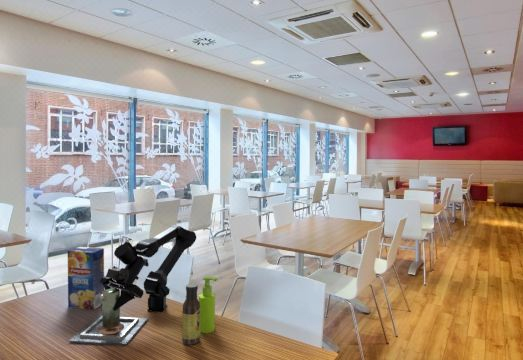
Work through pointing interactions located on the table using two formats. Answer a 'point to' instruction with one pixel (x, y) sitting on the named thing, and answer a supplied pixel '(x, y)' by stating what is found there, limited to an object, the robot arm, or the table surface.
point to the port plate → (109, 332)
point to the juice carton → (85, 277)
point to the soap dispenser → (207, 307)
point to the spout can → (110, 308)
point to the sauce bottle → (191, 316)
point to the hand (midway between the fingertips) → (107, 308)
